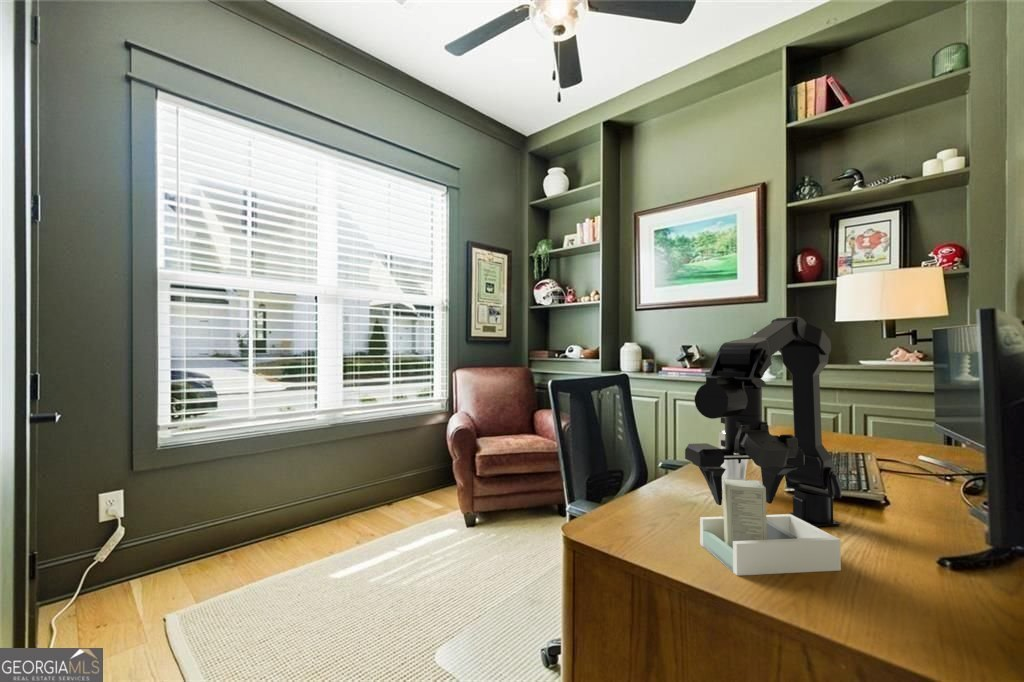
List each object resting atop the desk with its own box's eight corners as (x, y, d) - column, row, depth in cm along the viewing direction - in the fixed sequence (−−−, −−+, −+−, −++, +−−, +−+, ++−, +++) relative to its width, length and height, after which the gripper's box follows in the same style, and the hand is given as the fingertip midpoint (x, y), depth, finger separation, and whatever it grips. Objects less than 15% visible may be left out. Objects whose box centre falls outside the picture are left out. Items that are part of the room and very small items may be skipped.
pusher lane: (790, 540, 81) (790, 514, 81) (840, 570, 70) (840, 539, 70) (700, 544, 79) (699, 517, 79) (736, 575, 68) (736, 543, 68)
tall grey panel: (763, 539, 79) (763, 518, 79) (797, 561, 71) (796, 537, 71) (758, 539, 79) (758, 518, 79) (791, 561, 71) (791, 537, 71)
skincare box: (761, 549, 76) (761, 480, 76) (768, 561, 71) (767, 488, 72) (722, 544, 77) (721, 477, 78) (726, 555, 73) (726, 484, 73)
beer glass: (753, 496, 106) (752, 435, 106) (722, 494, 107) (722, 434, 108) (743, 487, 113) (743, 430, 113) (715, 485, 114) (715, 429, 114)
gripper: (719, 422, 66) (719, 524, 66) (831, 420, 68) (832, 520, 67) (683, 411, 77) (683, 499, 77) (780, 410, 79) (781, 496, 78)
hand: (743, 503), depth 74 cm, fingers open, 9 cm apart
